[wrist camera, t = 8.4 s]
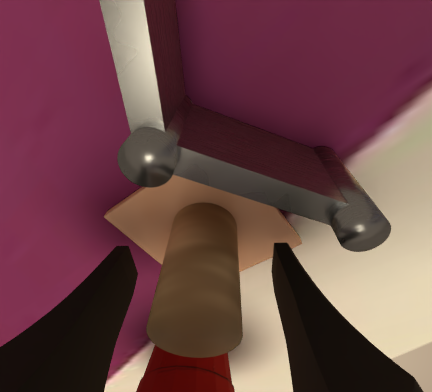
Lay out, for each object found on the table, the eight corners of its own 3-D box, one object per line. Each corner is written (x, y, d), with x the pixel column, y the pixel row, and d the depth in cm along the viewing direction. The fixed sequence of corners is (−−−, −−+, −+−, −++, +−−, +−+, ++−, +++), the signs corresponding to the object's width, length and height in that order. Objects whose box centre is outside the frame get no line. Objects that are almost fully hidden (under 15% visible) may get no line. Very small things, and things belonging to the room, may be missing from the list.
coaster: (300, 237, 16) (302, 243, 15) (195, 285, 19) (194, 291, 18) (220, 132, 12) (220, 136, 12) (107, 211, 15) (103, 216, 15)
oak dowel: (242, 206, 14) (251, 311, 9) (231, 254, 16) (233, 361, 11) (174, 198, 14) (145, 300, 9) (171, 247, 16) (147, 353, 11)
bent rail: (341, 165, 13) (397, 238, 9) (244, 216, 15) (251, 297, 11) (142, -205, 7) (12, -542, 3) (27, -39, 9) (-151, -87, 5)
